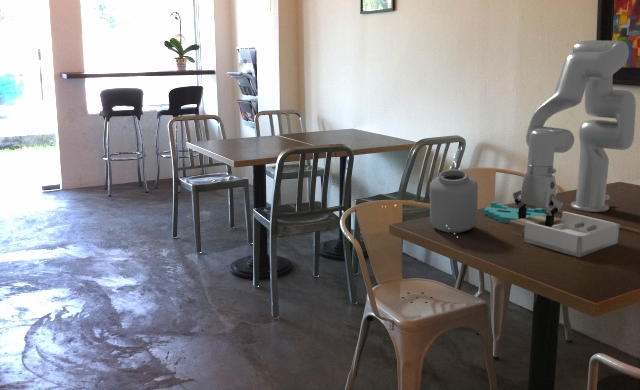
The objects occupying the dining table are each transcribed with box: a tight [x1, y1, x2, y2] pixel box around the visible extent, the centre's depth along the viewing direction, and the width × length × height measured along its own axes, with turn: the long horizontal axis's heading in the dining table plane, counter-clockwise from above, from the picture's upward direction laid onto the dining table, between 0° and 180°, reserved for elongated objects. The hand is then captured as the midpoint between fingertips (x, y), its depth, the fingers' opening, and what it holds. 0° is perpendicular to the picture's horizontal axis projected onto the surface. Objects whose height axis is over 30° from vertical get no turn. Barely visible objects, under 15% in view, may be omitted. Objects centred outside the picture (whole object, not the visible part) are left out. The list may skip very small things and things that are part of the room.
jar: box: [429, 153, 479, 238], centre depth 199 cm, size 19×15×25 cm
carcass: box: [523, 210, 620, 258], centre depth 188 cm, size 20×18×6 cm
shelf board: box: [508, 214, 562, 238], centre depth 200 cm, size 16×6×4 cm, turn 115°
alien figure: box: [483, 201, 548, 224], centre depth 217 cm, size 20×2×20 cm
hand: (535, 223), depth 199 cm, fingers open, 9 cm apart
